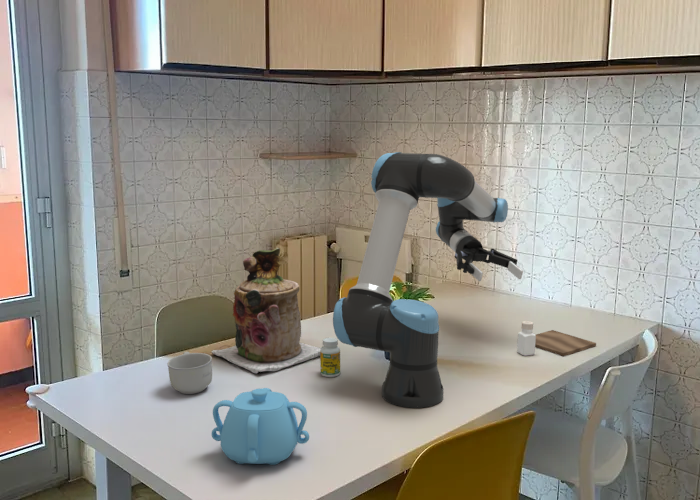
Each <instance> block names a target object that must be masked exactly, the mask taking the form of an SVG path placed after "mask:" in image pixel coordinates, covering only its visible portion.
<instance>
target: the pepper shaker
mask: <svg viewBox="0 0 700 500" xmlns="http://www.w3.org/2000/svg"><path fill="white" fill-rule="evenodd" d="M533 329H534V322H533V321H529V320H523V321H522V322H521V331H519V332H517V341H516V342H517V345H516V346H517V347H516V351H517V353H518V354H519V355H522V356H533V355H535V353H536V347H535V341H536V334H535V333H533Z"/></svg>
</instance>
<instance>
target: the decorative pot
mask: <svg viewBox="0 0 700 500" xmlns="http://www.w3.org/2000/svg"><path fill="white" fill-rule="evenodd" d="M222 407H228V408H229V409H228V410H227V412H226V416H225V418H224V421H222V419H221V417H220V414H219V409H220V408H222ZM294 409H297V410H299V411H300V412H301V418H300V423H299V424H298V418H297V416H296V413H295V410H294ZM212 417H213V420H214V423H215V425H216V427H214V428H213V429H212V430H211V438H212V439H213V440H215V441H216V442H220V447H221V448H220V449H221V450H222V452H223V453H224V454H225V456H226V457H227V458H228V459H230V460H231V461H235V463H237V464H239V465H242V464H252V465H253V464H255V465H256V464H257V465H262V464H268V465H273V466H274V465H278V464H280V463H281V462H282V461H285V460H287V459H288V458H289V457H290V456H291V454H292V453H293V452H294V450H295V448H296V447H297V445H298V444H301V445H304V444H306V443H307V442H308V441H309V440H310V433H309V432H308V431H306V430H303V429H304V427H305V424H306V421H307V418H308V411H307V408H306V407H305V405H303V404H302V403H300V402H297V401H289V399H288V397H287V395H285V394H284V393H281V392H277V391H273V390H272V389H271V388H268V387H262V388H254V389H252V390H251V391H244V392H241V393H239V394H238V395H236V397H235V398H234V399H233V400H230V399H224V400H220V401H219V402H217V403H216V404H215V405H214V407H213V408H212ZM217 432H218V433H219V434H218V433H217ZM301 435H303V436H304V437H302V436H301Z"/></svg>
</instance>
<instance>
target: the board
mask: <svg viewBox="0 0 700 500" xmlns="http://www.w3.org/2000/svg"><path fill="white" fill-rule="evenodd" d="M535 335H536V341H535V349H536V348H537V349H540V350H543V351H546V352H548V353H551V354H555V355H557V356H561V357H566V356H569V355H573V354H575V353H578V352H582V351H585V350H588V349H591V348H594V347H597V342H594V341H590V340H588V339H585V338H581V337H578V336H575V335H570V334H567V333H563V332H561V331H557V330H555V329H551V330H547V331H544V332H541V333H537V334H535Z"/></svg>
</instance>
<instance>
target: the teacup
mask: <svg viewBox="0 0 700 500" xmlns="http://www.w3.org/2000/svg"><path fill="white" fill-rule="evenodd" d="M212 361H213V357H212V356H211V355H210V354H207V353H204V352H203V353H202V352H189V351H183V353H182V354H179V355H176V356H173V357H172V358H170V359H169V360H168V361H167V363H166V364H167V367H168V368H167V369H168V377H169V382H170V385H171V387H172V388H173V389H174V390H176V391H177V392H178V393H181V394H184V395H193V394H198V393H201V392H204V390H205V389H207V387H208V386H209V385H211V383H212V380H213V364H212V363H213V362H212Z"/></svg>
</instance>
